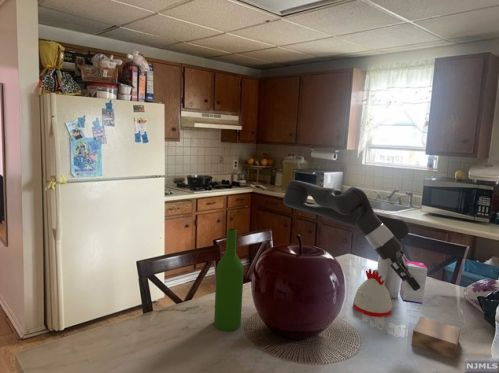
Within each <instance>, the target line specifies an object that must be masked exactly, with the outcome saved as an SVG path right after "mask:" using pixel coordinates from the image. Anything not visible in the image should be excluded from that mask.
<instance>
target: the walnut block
mask: <svg viewBox="0 0 499 373" xmlns="http://www.w3.org/2000/svg"><path fill="white" fill-rule="evenodd" d="M417 320H418V321H417V323H416V324H415V326H414V328H413V330H412V337H411V345H413V346H416V347H419V348H422V349H424V350H427V351H431V352H433V353H436V354H439V355H442V356H445V357H448V358H451V359H455V358H456V353H457V349H458V346H459V342H460V337H461V336H460V335H461V327H457V326H453V325H451V324H447V323H444V322H441V321H438V320H434V319H430V318H427V317H423V316H420V317H419V319H417Z"/></svg>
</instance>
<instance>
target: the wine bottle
mask: <svg viewBox="0 0 499 373" xmlns="http://www.w3.org/2000/svg"><path fill="white" fill-rule="evenodd" d="M226 231H227V233H226V243H225V244H226V246H225V247H226V248H225V253H224V254H223V255H222V257H221V258H220V260H219V261H218V263H217V265H216V270H215V274H216V275H215V294H214V295H215V297H214V298H215V299H214V314H213V315H214V319H213V320H214V321H213V322H214V326H215V328H217V329H218V330H220V331H224V332H232V331H237V330H238V329H239V328H240V327H241V325H242V308H243V293H244V292H243V289H244V288H243V287H244V264H243V263H242V261H241V260H240V258H239V256H238V254H237V250H236V248H237V229H236V228H227V229H226Z"/></svg>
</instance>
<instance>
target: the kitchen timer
mask: <svg viewBox="0 0 499 373" xmlns="http://www.w3.org/2000/svg"><path fill="white" fill-rule="evenodd" d="M375 270H376V269H374V270H372V269H371V268H369V269H368V270H366V271H365V275H366V280H365V281H362V283H361V284H360V285H359V287H358V288H357V289H356V290H357V291H356V293H355V295H354V298H353V302H352V303H353V304H352V306H353V309H355V310H356V311H357V312H359V313H361V314H363V315H366V316H369V317H373V316H374V317H375V318H384V317H389V316H391V314H392V307H393V306H392V305H393V304H392V298H390V294H389V291H388V290H387V288H386V286H385V285H384V284H383V283H384V281H385V280H383V281H382V282H381V277H382V276H379V272H378V271H377V272H376V274H375Z"/></svg>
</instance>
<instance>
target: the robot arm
mask: <svg viewBox="0 0 499 373" xmlns="http://www.w3.org/2000/svg"><path fill="white" fill-rule="evenodd" d="M309 195H310V196H311V198H312V200H313V201H314V203H316V204H309V203H308V204H307V201H308V198H309ZM282 203H283V204H284V206H286V207H288V208H291V209H295V210H298V211H302V212H306V213H309V214H314V215H317V216H321V217H324V218H326V219H329V220H332V221H335V222H338V223H339V224H340V223H341V224H343V225H346V226H351V227H355V228H358V230H359V231H360V232H361V233H362V234H363V236H364V237H365V238H366V240H367V242H368V243H369V245H370V246H371V247H372V248H373V250H374V251H375V252H376V254H378V257H377V258H378V259H377V268H376V269H374V270H375V274H376V272H377V271H378V272H379V276H382V277H381V282H382V281H383V280H385V281H384V283H383V284H384V285H385V286H386V288H387V290H388V291H389V294H390V298H391V299H396V298H398V297H399V294H400V286H401V285H400V284H401V281H402V280H403V281H407V282H408V284H409V285H410V286H411V287H412V289H413V290H414V291H416V290H418V289H420V285H419V284H418V282H417V281H416V280H415V279H414V278H413V277H412V275H411V273H410V272H409V271H408V270H409V268H408V266H407V264H406V262H405V261H411V260H410V259H409V257H408V256H407V255H406V254H405V252H404V249H403V245H402V240H404V239H406V238H407V237H408V235H409V234H410V228H409V225H408V223H407V222H406V221H405V220H404V219H403V218H401V217H399V216H398V215H395V214H388V215H383V214H380V213H377V212H375V211H374V209H373V207H372V205H371V203H370V200H369V198H368V196H367V194H366V192H365V190H363V189H362V188H361V187H358V186H350V187H349V188H347V189H346V190H345V191H341V189H338V188H334V187H324V186H320V185H316V184H313V183H309V182H305V181H301V180H293V179H292V180H290V181H289V182H288V184H287V186H286V189H285V192H284V196H283V199H282ZM404 273H405V274H406V275H405V276H404Z"/></svg>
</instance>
